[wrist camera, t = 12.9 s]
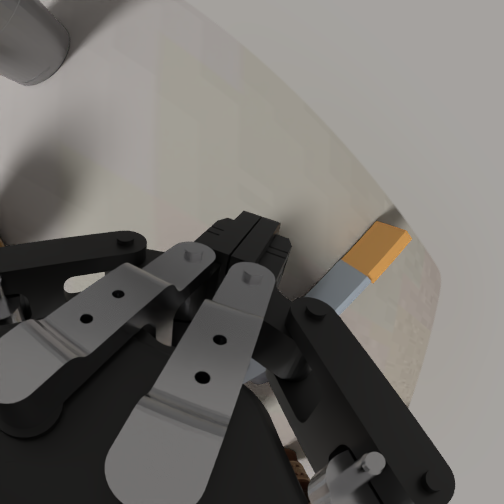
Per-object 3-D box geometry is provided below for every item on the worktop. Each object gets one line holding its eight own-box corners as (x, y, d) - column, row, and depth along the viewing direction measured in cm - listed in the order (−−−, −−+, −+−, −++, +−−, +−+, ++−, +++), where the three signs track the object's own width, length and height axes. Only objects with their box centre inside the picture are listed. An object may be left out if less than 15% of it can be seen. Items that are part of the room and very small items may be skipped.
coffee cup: (265, 440, 47) (283, 500, 34) (308, 443, 49) (332, 497, 36) (249, 469, 48) (262, 524, 36) (289, 471, 50) (307, 522, 38)
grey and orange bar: (375, 220, 40) (407, 230, 33) (382, 229, 40) (414, 240, 33) (274, 325, 41) (289, 354, 34) (283, 333, 41) (298, 362, 34)
